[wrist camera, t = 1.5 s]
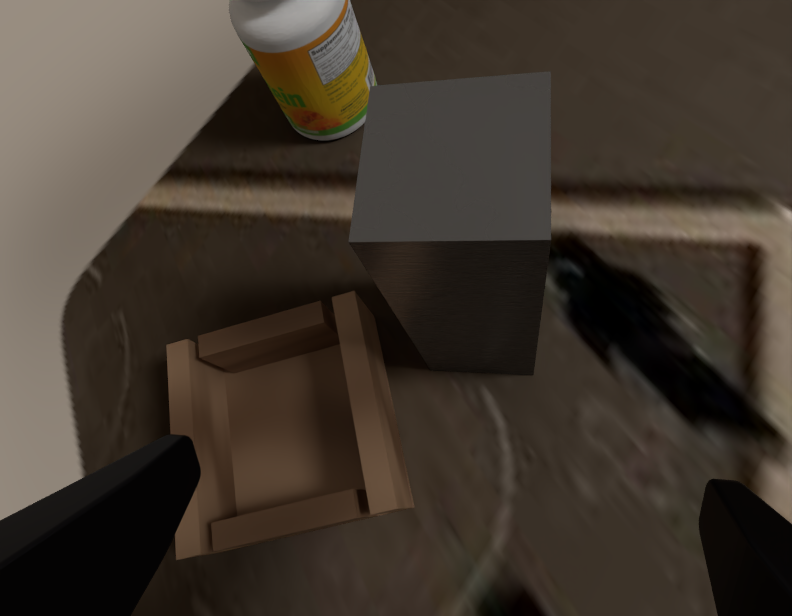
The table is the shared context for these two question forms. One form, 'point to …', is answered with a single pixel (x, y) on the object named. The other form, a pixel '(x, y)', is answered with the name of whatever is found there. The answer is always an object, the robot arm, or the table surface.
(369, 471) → the wooden square frame
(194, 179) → the table surface
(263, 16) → the supplement bottle
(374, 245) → the steel square block
